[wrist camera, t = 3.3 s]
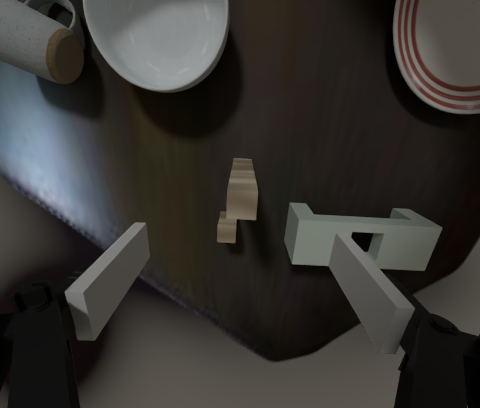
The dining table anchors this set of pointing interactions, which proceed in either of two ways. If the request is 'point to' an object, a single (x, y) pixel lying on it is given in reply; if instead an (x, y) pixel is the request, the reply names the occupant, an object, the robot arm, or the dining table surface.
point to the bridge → (385, 231)
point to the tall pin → (242, 191)
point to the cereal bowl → (160, 39)
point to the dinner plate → (440, 52)
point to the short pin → (226, 229)
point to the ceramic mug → (40, 41)
